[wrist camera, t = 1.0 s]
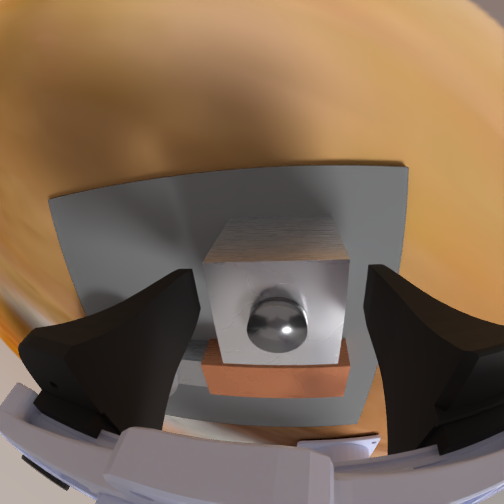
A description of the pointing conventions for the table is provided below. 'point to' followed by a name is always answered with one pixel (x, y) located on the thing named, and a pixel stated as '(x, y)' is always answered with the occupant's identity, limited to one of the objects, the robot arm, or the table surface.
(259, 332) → the socket
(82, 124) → the table surface
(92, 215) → the mat
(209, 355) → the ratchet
